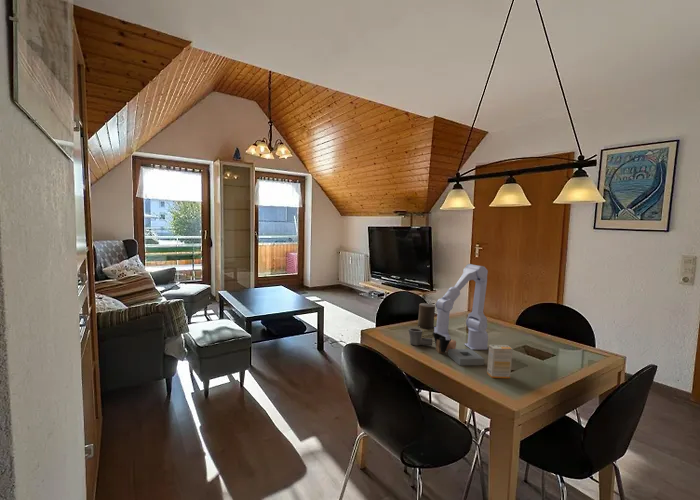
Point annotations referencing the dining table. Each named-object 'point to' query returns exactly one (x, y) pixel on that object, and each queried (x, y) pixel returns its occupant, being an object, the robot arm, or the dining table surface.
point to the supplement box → (499, 361)
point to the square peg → (438, 346)
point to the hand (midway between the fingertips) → (440, 349)
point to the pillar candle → (426, 315)
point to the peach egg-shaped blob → (451, 345)
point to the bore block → (465, 357)
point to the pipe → (418, 338)
